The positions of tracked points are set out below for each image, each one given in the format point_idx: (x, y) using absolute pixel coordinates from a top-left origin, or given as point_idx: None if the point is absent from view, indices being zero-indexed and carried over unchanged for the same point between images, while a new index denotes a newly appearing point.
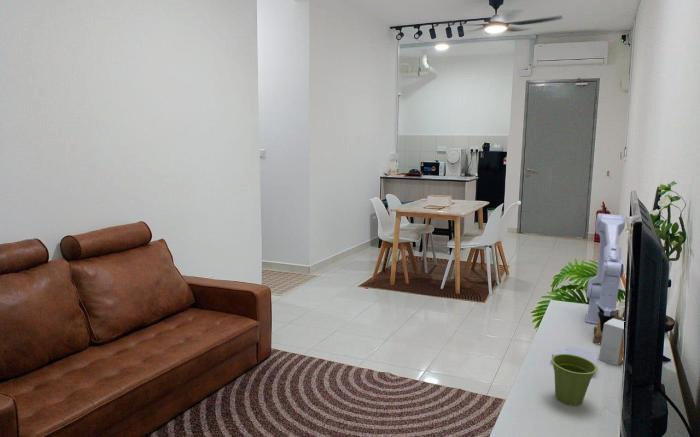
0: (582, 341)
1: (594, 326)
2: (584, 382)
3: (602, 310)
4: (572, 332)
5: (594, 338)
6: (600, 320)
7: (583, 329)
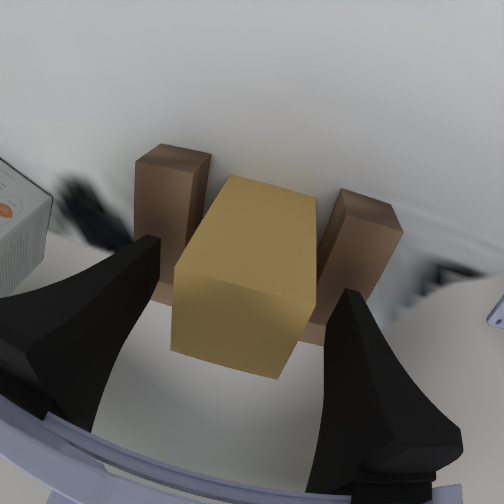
0: (155, 67)
1: (400, 232)
2: None
3: (357, 426)
4: (345, 19)
5: (144, 159)
6: (48, 287)
7: (443, 146)
